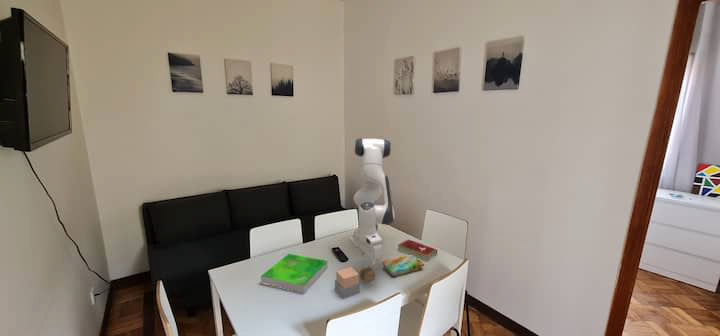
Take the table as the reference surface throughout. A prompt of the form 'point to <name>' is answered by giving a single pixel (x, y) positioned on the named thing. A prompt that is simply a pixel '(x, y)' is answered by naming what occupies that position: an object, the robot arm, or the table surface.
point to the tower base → (347, 290)
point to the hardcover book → (417, 249)
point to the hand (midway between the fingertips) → (367, 260)
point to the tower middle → (347, 277)
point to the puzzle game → (402, 265)
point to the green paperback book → (295, 273)
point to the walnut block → (367, 274)
